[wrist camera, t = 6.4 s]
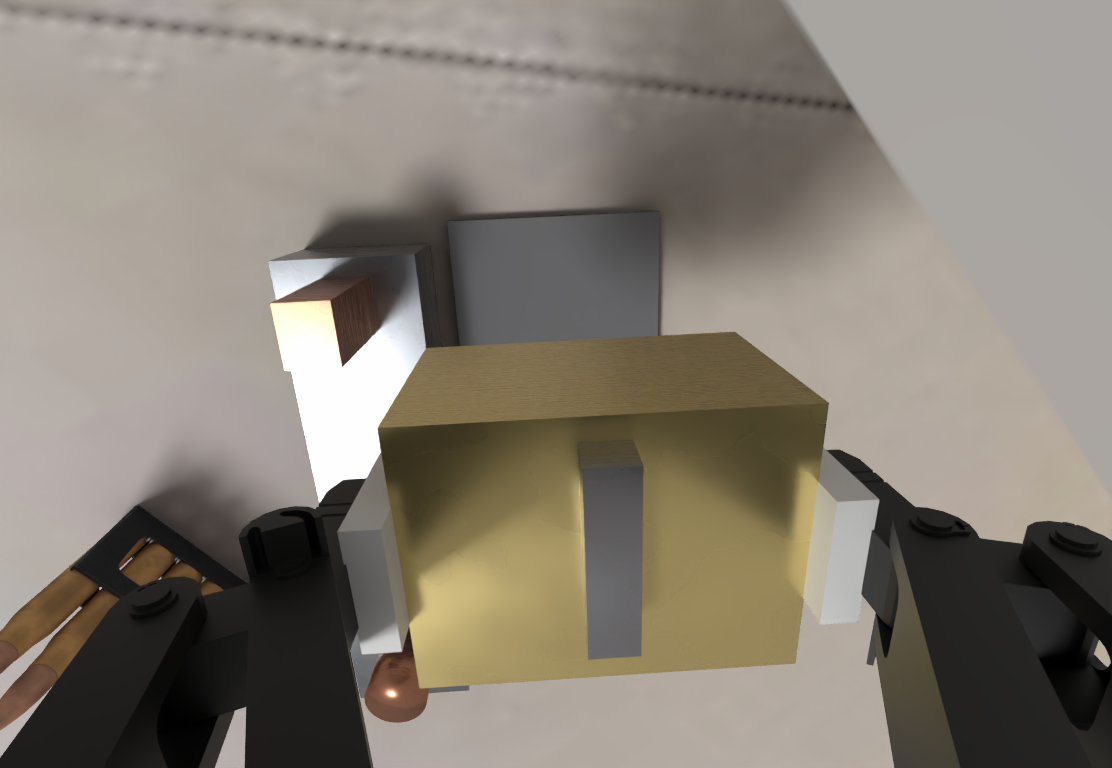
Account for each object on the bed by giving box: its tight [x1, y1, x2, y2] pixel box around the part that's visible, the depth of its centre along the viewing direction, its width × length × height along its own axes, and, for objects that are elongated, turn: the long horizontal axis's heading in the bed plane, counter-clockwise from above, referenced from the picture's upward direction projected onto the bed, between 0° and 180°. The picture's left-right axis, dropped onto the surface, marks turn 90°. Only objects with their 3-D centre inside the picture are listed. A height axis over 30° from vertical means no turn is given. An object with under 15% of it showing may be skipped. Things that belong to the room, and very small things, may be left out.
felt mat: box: [447, 211, 660, 346], centre depth 29 cm, size 10×10×1 cm
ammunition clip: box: [0, 506, 247, 730], centre depth 28 cm, size 11×2×12 cm, turn 42°
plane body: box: [268, 243, 469, 722], centre depth 27 cm, size 24×6×9 cm, turn 2°
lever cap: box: [377, 332, 829, 689], centre depth 13 cm, size 6×8×6 cm
